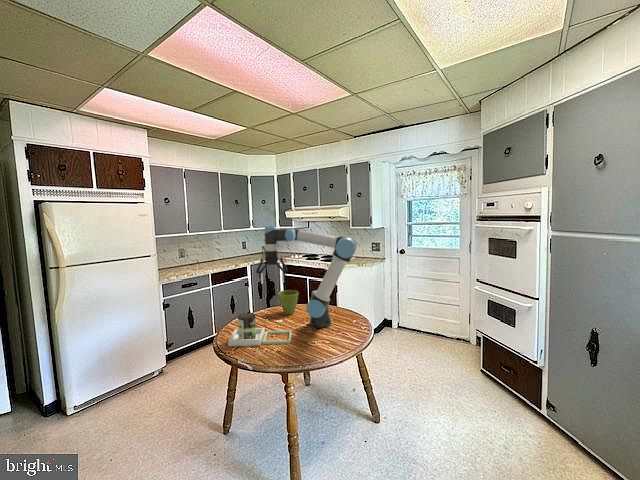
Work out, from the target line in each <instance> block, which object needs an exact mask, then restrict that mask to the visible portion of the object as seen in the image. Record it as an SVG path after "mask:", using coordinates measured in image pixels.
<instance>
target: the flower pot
mask: <svg viewBox="0 0 640 480" xmlns="http://www.w3.org/2000/svg"><path fill="white" fill-rule="evenodd" d="M278 297H279V302H280V305H281V308H282V312H283V314H285V315H288V314H289V315H293V314H295V312H296V308H297V304H298V300H299V291H298V290H295V289H293V290H291V289H287V290H281V291H279V292H278Z"/></svg>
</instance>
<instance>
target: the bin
mask: <svg viewBox="0 0 640 480" xmlns="http://www.w3.org/2000/svg"><path fill="white" fill-rule="evenodd" d="M265 333H266V331H265V327H256V339H239V335H238V328H235V329H234V331H233V332H232V333H231V335H230V337H229V338H228V340H227V343H228V344H227V347H257V346H261V345H262V341H263V338H264V336H265Z"/></svg>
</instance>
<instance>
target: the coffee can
mask: <svg viewBox="0 0 640 480" xmlns="http://www.w3.org/2000/svg"><path fill="white" fill-rule="evenodd" d="M237 326H238V327H237V329H238V335H239V339H256V328H257V327H256V314H255V313H253V312H250V313H249V312H245V313H241V314H238V315H237Z"/></svg>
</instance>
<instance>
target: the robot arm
mask: <svg viewBox="0 0 640 480" xmlns="http://www.w3.org/2000/svg"><path fill="white" fill-rule="evenodd" d="M263 233H264V249H265V258H264V257H261V258H260V262H259V265H258V266H257V269H256V271H255V273H256V274H258V277H259V280H260V283H261V285H263V284H264V277H263V271H264V270H265V269H266V267H267V266H268V265H269V266H272V265H273V266H274V265H276V266H277V267H278V268H279V270H281V272H282V274H281V277H282V284H284V283H285V278H286V272H288V271H289V269H288V267H287V266H286V264H285V262H284V260H283V257H282V256H281V257H278V242H293V241H295V242H296V241H297V242H302V243H307V244H312V245H315V246H321V247H325V248H326V247H328V248H331V249H334V250H333V251H332V252H333V253H332V259H331V261H330V264H329V266H328V267H327V269H326V272H325V274H324V276H323V278H322V279H321V282H320V284H319V286H318V288H317V289H316V290H313V291H311V297H310V299H309V300H308V302H307V303H306V306H305V308H306V312H307V313H308V316H309V317H310V318H309V321H308V323H309V326H310V327H313V328H318V329H319V328H320V329H324V327H325V328H328V326H329V327H331V326H332V324H331V323H332V317H331V316H330V302H331V298H330V296H331V294H332V292H333V290H334V288H335V286H336V284H337V282H338V280H339V278H340V276H341V274H342V272H343V270H344V269H345V266H346V265H347V264H349V263H350V261H351V260H352V258H353V256H354V254H355V253H356V250H357V247H358V246H357V242H356V240H355V239H354V238H353V237H351V236H342V235H336V236H333V235H328V234H322V233H319V232H312V231H307V230H302V229H296V228H293V227H290V228H283V229H281V228H280V229H279V228H277V226H274V225H273V226H272V225H271V226H265V227H264V232H263ZM278 261H279V262H280V263H281V265H282V266H283V267H282V266H281V265H280V263H279V262H278ZM264 262H265V265H264V266H262V264H263V263H264ZM261 267H262V268H261Z"/></svg>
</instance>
